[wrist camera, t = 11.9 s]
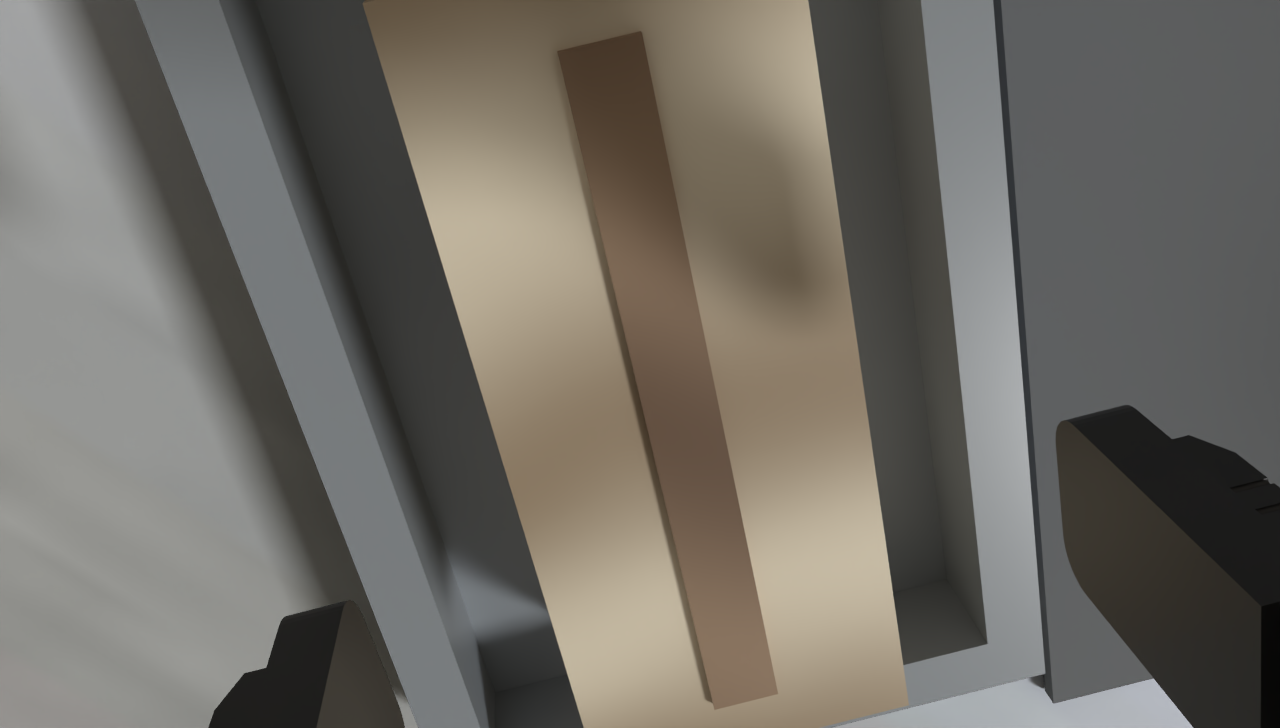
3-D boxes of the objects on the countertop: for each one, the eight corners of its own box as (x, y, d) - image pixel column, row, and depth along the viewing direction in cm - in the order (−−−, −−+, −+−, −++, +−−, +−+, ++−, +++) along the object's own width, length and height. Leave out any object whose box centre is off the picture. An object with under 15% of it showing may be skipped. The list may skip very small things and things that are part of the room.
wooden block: (392, -28, 16) (361, 4, 13) (728, -107, 16) (797, -99, 13) (582, 626, 21) (601, 789, 18) (839, 562, 21) (912, 711, 18)
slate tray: (988, 589, 23) (1045, 673, 20) (459, 723, 23) (455, 822, 20) (898, -305, 16) (967, -334, 14) (146, -127, 16) (86, -126, 14)
